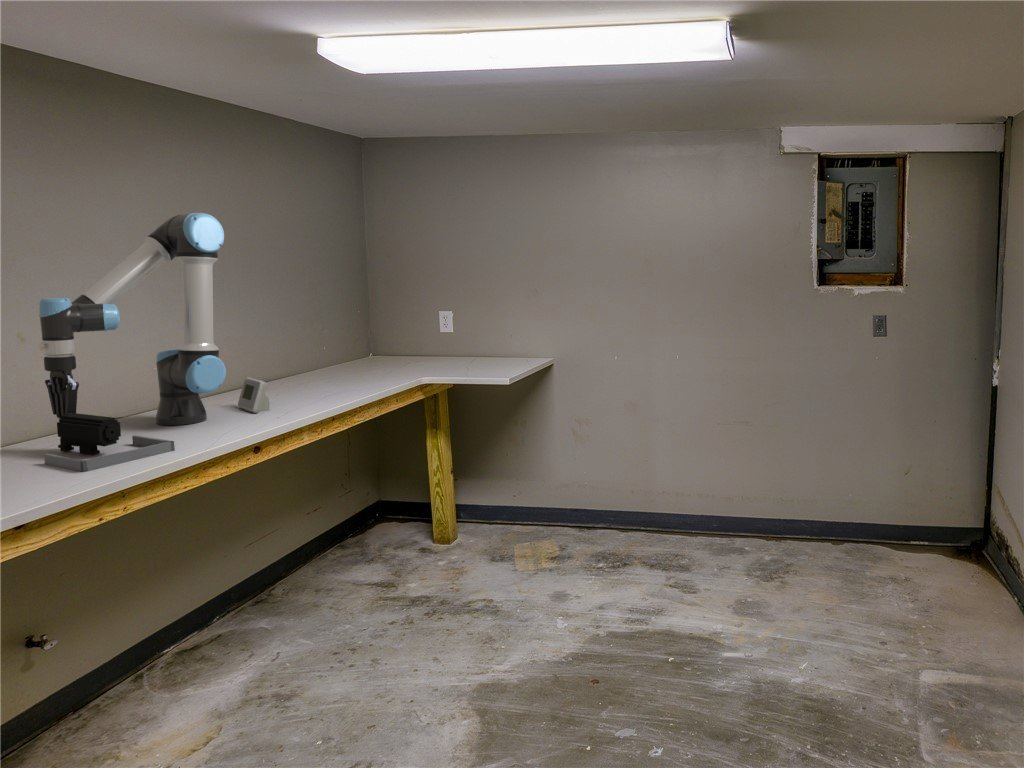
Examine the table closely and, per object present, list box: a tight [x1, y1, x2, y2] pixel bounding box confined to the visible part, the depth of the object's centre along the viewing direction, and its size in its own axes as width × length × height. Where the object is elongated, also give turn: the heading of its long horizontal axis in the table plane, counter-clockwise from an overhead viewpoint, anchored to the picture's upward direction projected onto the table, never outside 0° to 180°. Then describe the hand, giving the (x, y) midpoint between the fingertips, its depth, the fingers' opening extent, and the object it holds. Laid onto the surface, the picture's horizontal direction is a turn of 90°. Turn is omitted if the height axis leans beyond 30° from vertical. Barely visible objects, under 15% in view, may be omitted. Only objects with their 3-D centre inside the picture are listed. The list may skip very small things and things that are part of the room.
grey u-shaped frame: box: [43, 434, 176, 473], centre depth 211 cm, size 25×17×2 cm
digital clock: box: [237, 377, 271, 414], centre depth 274 cm, size 16×9×11 cm, turn 27°
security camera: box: [56, 412, 122, 456], centre depth 215 cm, size 7×18×10 cm, turn 69°
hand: (66, 441), depth 220 cm, fingers closed
